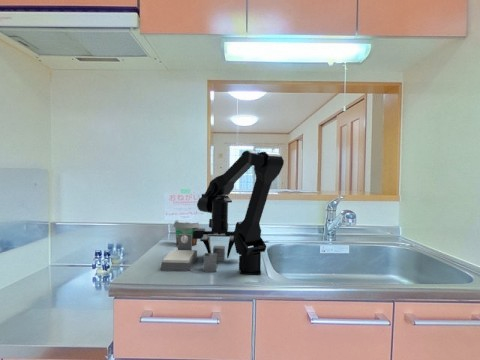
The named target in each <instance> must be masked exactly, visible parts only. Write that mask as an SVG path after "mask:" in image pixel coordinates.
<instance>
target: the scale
mask: <svg viewBox="0 0 480 360" xmlns="http://www.w3.org/2000/svg"><path fill="white" fill-rule="evenodd" d="M197 258H198V250H196V249H193V246H192V234H178V245H177V249H172V250H171V251H169V252H168V254H167V255H166V256H165V257H164V258H163V260H162V261H161V271H177V272H179V271H181V272H183V271H184V272H185V271H186V272H189V271H191V269H192V267H193V265H194V263H195V261H196V260H197Z"/></svg>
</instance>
